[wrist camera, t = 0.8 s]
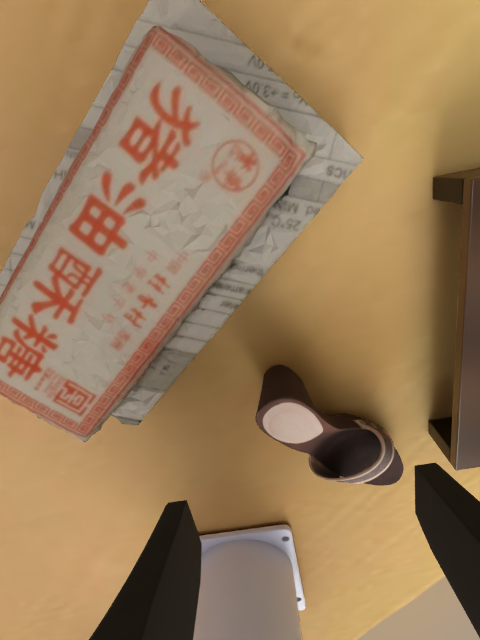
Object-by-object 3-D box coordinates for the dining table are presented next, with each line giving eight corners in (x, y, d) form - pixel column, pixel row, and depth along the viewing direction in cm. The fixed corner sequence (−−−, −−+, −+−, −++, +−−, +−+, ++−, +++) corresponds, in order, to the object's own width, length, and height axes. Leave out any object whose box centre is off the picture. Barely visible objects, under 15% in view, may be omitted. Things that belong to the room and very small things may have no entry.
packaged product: (115, 479, 17) (-96, 366, 15) (141, 414, 21) (-17, 320, 19) (401, 153, 12) (139, -113, 9) (356, 158, 16) (172, -20, 14)
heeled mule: (352, 485, 24) (372, 540, 20) (231, 389, 21) (230, 434, 17) (407, 446, 22) (439, 498, 19) (287, 339, 20) (297, 377, 16)
